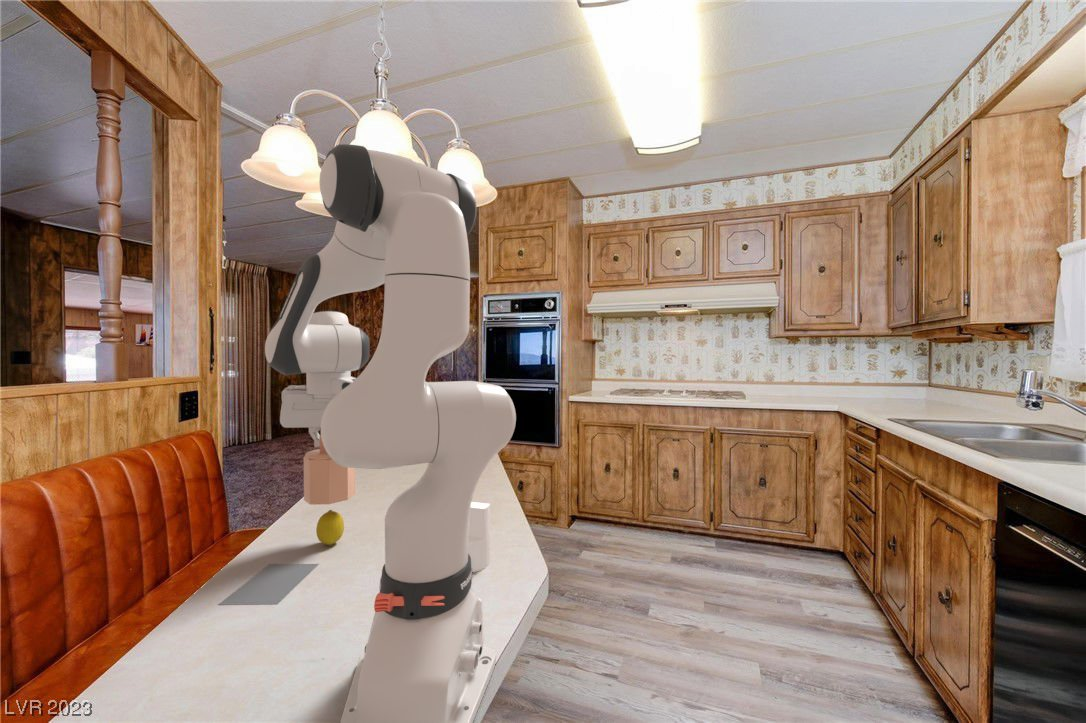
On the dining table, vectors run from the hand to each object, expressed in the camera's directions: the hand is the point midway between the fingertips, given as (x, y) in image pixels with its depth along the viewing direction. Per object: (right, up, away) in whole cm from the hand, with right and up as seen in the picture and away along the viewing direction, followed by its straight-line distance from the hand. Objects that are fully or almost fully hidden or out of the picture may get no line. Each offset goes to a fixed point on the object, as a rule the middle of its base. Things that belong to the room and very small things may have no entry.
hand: (329, 447), depth 95 cm
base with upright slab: (+32, -23, -7) cm, 40 cm away
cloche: (0, -11, 0) cm, 11 cm away
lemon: (0, -22, 0) cm, 22 cm away
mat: (-3, -22, -16) cm, 27 cm away
